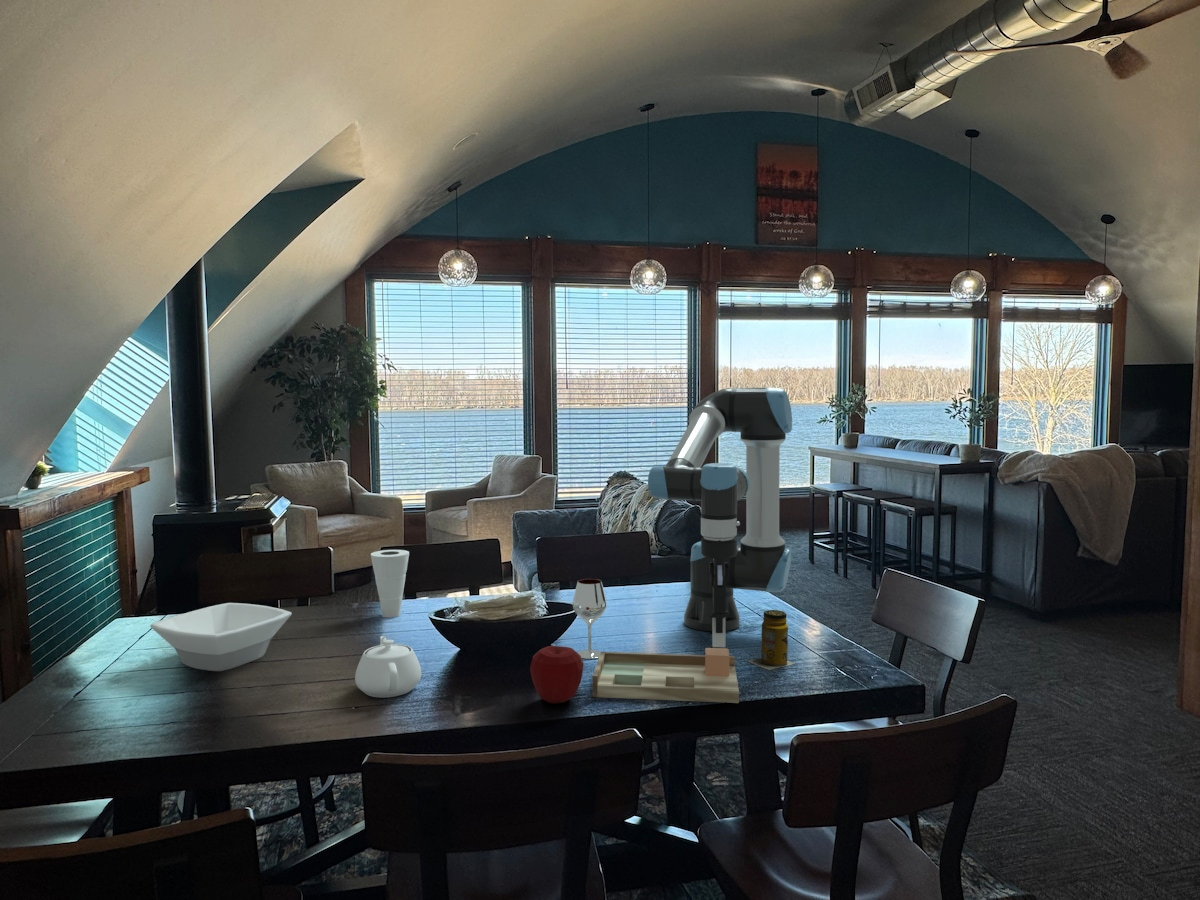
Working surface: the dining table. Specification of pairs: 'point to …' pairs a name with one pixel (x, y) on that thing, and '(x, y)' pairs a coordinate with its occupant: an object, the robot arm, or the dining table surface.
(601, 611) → the wineglass
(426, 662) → the dining table surface
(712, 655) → the block
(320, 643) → the dining table surface
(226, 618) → the bowl
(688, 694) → the tray
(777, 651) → the condiment
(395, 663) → the teapot
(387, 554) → the cup
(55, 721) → the dining table surface
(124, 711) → the dining table surface
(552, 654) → the apple
